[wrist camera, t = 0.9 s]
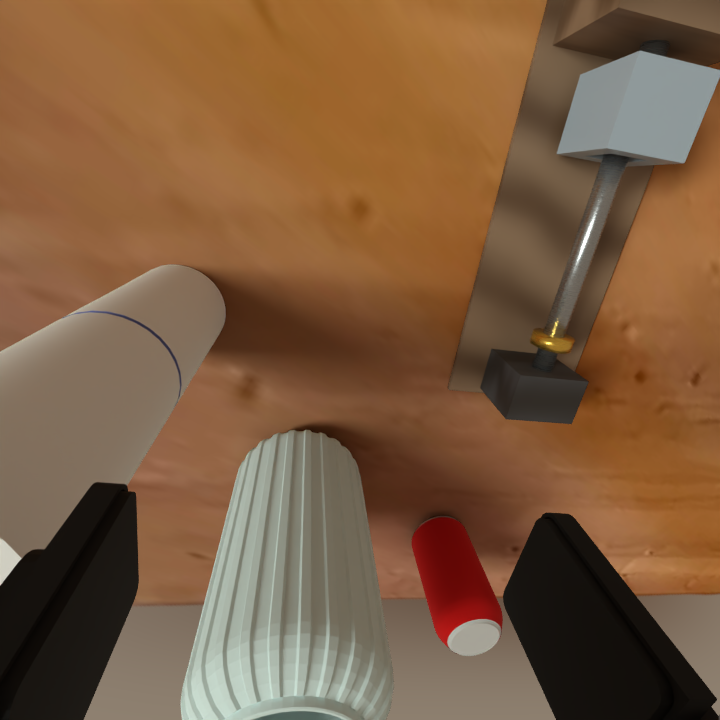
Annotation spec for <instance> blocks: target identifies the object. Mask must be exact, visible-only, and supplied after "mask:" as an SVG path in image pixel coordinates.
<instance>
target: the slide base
mask: <svg viewBox="0 0 720 720" xmlns="http://www.w3.org/2000/svg"><path fill="white" fill-rule="evenodd" d="M649 40H665V41H668V42H670V47H669V50H668V53H667V55H666V57H668V58H672V59H677V60H681V61H685V62H689V63H693V64H697V65H701V66H708V65H711V64H715V63H718V62H720V0H548V1H547V4H546V8H545V12H544V16H543V20H542V24H541V28H540V32H539V35H538V39H537V43H536V47H535V51H534V55H533V59H532V63H531V66H530V70H529V74H528V78H527V82H526V86H525V90H524V94H523V97H522V101H521V105H520V109H519V113H518V117H517V121H516V125H515V128H514V132H513V136H512V140H511V144H510V148H509V152H508V156H507V159H506V163H505V167H504V171H503V175H502V179H501V183H500V187H499V190H498V194H497V198H496V202H495V206H494V210H493V214H492V218H491V221H490V225H489V229H488V233H487V237H486V241H485V245H484V249H483V252H482V256H481V260H480V264H479V268H478V272H477V276H476V280H475V283H474V287H473V291H472V295H471V299H470V303H469V307H468V311H467V314H466V318H465V322H464V326H463V330H462V334H461V338H460V342H459V345H458V349H457V353H456V357H455V361H454V365H453V369H452V373H451V376H450V380H449V384H448V389H449V390H456V391H467V392H479V393H485V394H486V396H487V397H488V398H489V399H490V400H491V402H492V403H493V404H494V405H495V406H496V408H497V409H498V410H499V411H500V413H501V414H502V415H503V416H504V417H505V419H511V420H525V421H538V422H552V423H565V424H572V422H573V419H574V417H575V414H576V412H577V410H578V407H579V405H580V402H581V400H582V397H583V395H584V392H585V390H586V387H587V385H588V381H587V380H586V379H584V378H583V377H581V376H580V375H579V374H577V373H576V372H575V370H576V367H577V365H578V362H579V359H580V357H581V354H582V352H583V349H584V347H585V344H586V341H587V339H588V336H589V334H590V331H591V328H592V326H593V323H594V321H595V318H596V315H597V313H598V310H599V308H600V305H601V302H602V300H603V297H604V295H605V292H606V290H607V287H608V284H609V282H610V279H611V277H612V274H613V271H614V269H615V266H616V264H617V261H618V258H619V256H620V253H621V251H622V248H623V246H624V243H625V240H626V238H627V235H628V233H629V230H630V227H631V225H632V222H633V220H634V217H635V214H636V212H637V209H638V207H639V204H640V201H641V199H642V196H643V194H644V191H645V189H646V186H647V183H648V181H649V178H650V176H651V173H652V170H653V168H654V165H646V166H628V167H626V168H625V171H624V174H623V177H622V179H621V182H620V185H619V188H618V191H617V193H616V196H615V199H614V202H613V204H612V207H611V210H610V213H609V215H608V218H607V221H606V224H605V226H604V229H603V232H602V235H601V237H600V240H599V243H598V246H597V248H596V251H595V254H594V257H593V260H592V262H591V265H590V268H589V271H588V273H587V276H586V279H585V282H584V284H583V287H582V290H581V293H580V295H579V298H578V301H577V304H576V306H575V309H574V312H573V315H572V317H571V320H570V323H569V326H568V329H567V331H566V334H567V335H569V336H571V337H573V338H574V339H575V342H574V344H573V347H572V350H571V352H570V353H568V354H560V353H558V356H557V359H556V362H555V364H554V367H553V370H552V372H543V371H540V370H537V369H535V368H534V367H533V366H532V364H533V361H534V358H535V356H536V353H537V350H538V347H536V346H534V345H532V344H531V343H530V338H531V335H532V332H533V329H535V328H545V326H546V323H547V320H548V317H549V314H550V311H551V308H552V305H553V303H554V300H555V297H556V294H557V291H558V288H559V285H560V282H561V279H562V276H563V273H564V270H565V267H566V264H567V261H568V258H569V255H570V252H571V249H572V247H573V244H574V241H575V238H576V235H577V232H578V229H579V226H580V223H581V220H582V217H583V214H584V211H585V208H586V205H587V202H588V199H589V196H590V194H591V191H592V188H593V185H594V182H595V179H596V176H597V173H598V170H599V167H600V164H601V163H600V162H595V161H590V160H585V159H579V158H574V157H569V156H564V155H558V154H557V151H558V147H559V144H560V141H561V137H562V134H563V131H564V127H565V124H566V121H567V117H568V114H569V111H570V107H571V104H572V101H573V97H574V94H575V91H576V87H577V84H578V81H579V77H580V75H581V74H583V73H586V72H588V71H591V70H593V69H595V68H598V67H600V66H603V65H605V64H608V63H610V62H613V61H615V60H618V59H620V58H623V57H625V56H628V55H630V54H633V53H635V52H637V51H639V49H640V46H641V44H642V43H643V42H646V41H649Z"/></svg>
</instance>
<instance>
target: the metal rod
mask: <svg viewBox="0 0 720 720" xmlns="http://www.w3.org/2000/svg"><path fill="white" fill-rule="evenodd" d="M669 47H670V42H668V41H665V40H649V41H646V42H643V43H642V44H641V46H640V49H639V51H644V52H648V53H652V54H656V55H660V56H664V57H666V55H667V53H668V50H669ZM628 160H629V157H626V156H621V155H616V154H604V155H603V158H602V161H601V164H600V167H599V170H598V173H597V176H596V179H595V182H594V185H593V188H592V191H591V194H590V196H589V199H588V202H587V205H586V208H585V211H584V214H583V217H582V220H581V223H580V226H579V229H578V232H577V235H576V238H575V241H574V244H573V247H572V249H571V252H570V255H569V258H568V261H567V264H566V267H565V270H564V273H563V276H562V279H561V282H560V285H559V288H558V291H557V294H556V297H555V300H554V303H553V305H552V308H551V311H550V314H549V317H548V320H547V323H546V326H545V328H535V329H533V332H532V335H531V338H530V343H531V344H532V345H534V346H536V347H538V350H537V353H536V356H535V358H534V361H533V364H532V366H533V367H534V368H535V369H537V370H540V371H543V372H552V370H553V367H554V364H555V362H556V359H557V356H558V353H560V354H568V353H570V352H571V350H572V347H573V344H574V342H575V339H574V338H573V337H571V336H569V335H567V334H566V331H567V329H568V326H569V323H570V320H571V317H572V315H573V312H574V309H575V306H576V304H577V301H578V298H579V295H580V293H581V290H582V287H583V284H584V282H585V279H586V276H587V273H588V271H589V268H590V265H591V262H592V260H593V257H594V254H595V251H596V248H597V246H598V243H599V240H600V237H601V235H602V232H603V229H604V226H605V224H606V221H607V218H608V215H609V213H610V210H611V207H612V204H613V202H614V199H615V196H616V193H617V191H618V188H619V185H620V182H621V179H622V177H623V174H624V171H625V168H626V166H627V163H628Z"/></svg>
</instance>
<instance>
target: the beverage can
mask: <svg viewBox="0 0 720 720" xmlns="http://www.w3.org/2000/svg"><path fill="white" fill-rule="evenodd" d="M412 548H413V552H414V556H415V559H416V563H417V566H418V570H419V574H420V577H421V581H422V584H423V588H424V592H425V595H426V599H427V602H428V606H429V610H430V613H431V616H432V620H433V624H434V628H435V631H436V633H437V635H438V637H439V638H440V639H441V641H442V642H443V643H444V644H445V645H446V646H447V647H448V648H449V649H450V650H451V651H452V652H454V653H456V654H460V655H464V656H473V655H478V654H481V653H484V652H486V651H488V650H489V649H491V648H492V647H493V646H494V645H495V644H496V643H497V642H498V640H499V639H500V637H501V632H502V621H503V619H502V611H501V608H500V605H499V603H498V601H497V599H496V597H495V594H494V592H493V590H492V588H491V585H490V583H489V581H488V579H487V576H486V574H485V572H484V570H483V567H482V565H481V563H480V561H479V558H478V556H477V554H476V552H475V550H474V547H473V545H472V543H471V541H470V538H469V536H468V534H467V532H466V529H465V528H464V526H463V525H462V523H461V522H460V521H458V520H457V519H455V518H453V517H449V516H437V517H433V518H431V519H428V520H426V521H425V522H423V523H422V524H421V525H420V526H419V527H418V528H417V529H416V531H415V533H414V535H413V537H412Z"/></svg>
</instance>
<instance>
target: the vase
mask: <svg viewBox="0 0 720 720" xmlns="http://www.w3.org/2000/svg"><path fill="white" fill-rule="evenodd" d="M393 689H394V680H393V668H392V662H391V656H390V650H389V644H388V638H387V632H386V626H385V620H384V614H383V608H382V602H381V596H380V590H379V584H378V578H377V572H376V566H375V560H374V554H373V548H372V542H371V536H370V530H369V524H368V518H367V512H366V506H365V500H364V494H363V488H362V482H361V476H360V473H359V469H358V465H357V463H356V461H355V459H354V458H353V457H352V455H351V453H350V451H349V450H348V449H347V448H346V447H344V446H341V444H340V442H339V441H338V440H336V439H335V438H329V437H327V435H326V434H324V433H321V432H319V433H313V432H311V430H304V431H296V430H289V432H287V433H283V434H282V433H277V434H274V435H273V436H272V438H270V439H264V440H263V441H261V442H260V443H259V444H258V446H257V447H255V448H253V449H252V450H250V452H249V453H248V454H247V456H246V458H245V460H244V461H243V462H242V463H241V465H240V468H239V470H238V474H237V478H236V481H235V485H234V489H233V493H232V497H231V501H230V505H229V509H228V512H227V516H226V520H225V524H224V528H223V532H222V536H221V540H220V544H219V548H218V552H217V555H216V559H215V563H214V567H213V571H212V575H211V579H210V583H209V587H208V591H207V594H206V598H205V602H204V606H203V610H202V615H201V618H200V622H199V626H198V630H197V634H196V638H195V642H194V646H193V650H192V653H191V657H190V661H189V665H188V669H187V673H186V677H185V680H184V685H183V688H182V697H181V715H182V720H386V719H387V716H388V714H389V711H390V707H391V702H392V695H393Z"/></svg>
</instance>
